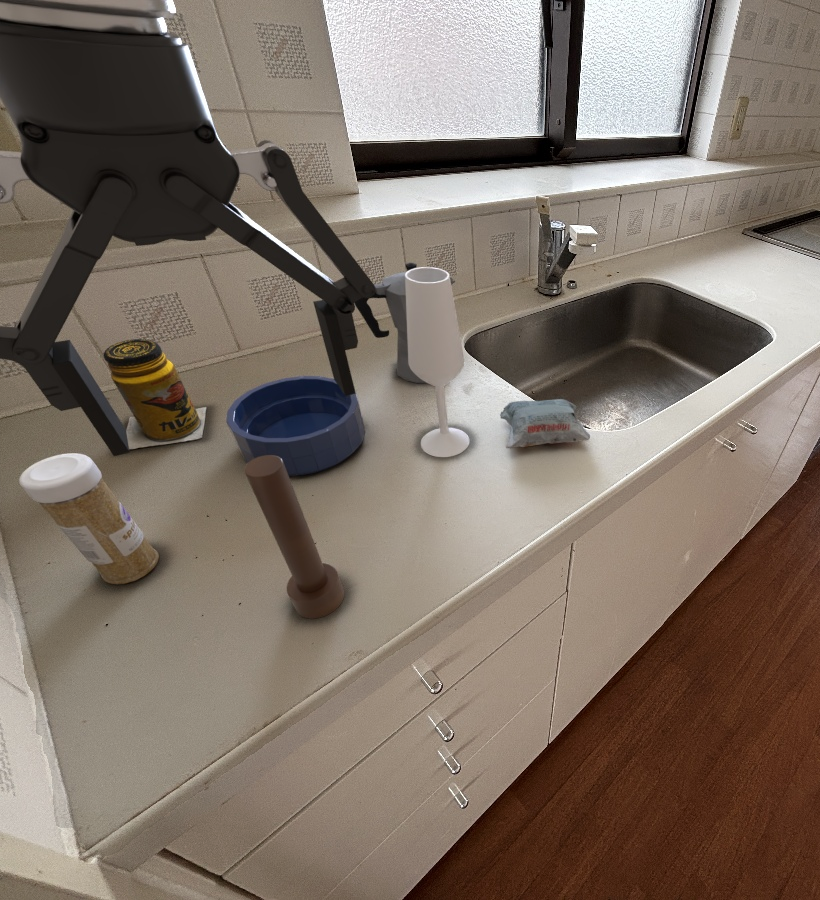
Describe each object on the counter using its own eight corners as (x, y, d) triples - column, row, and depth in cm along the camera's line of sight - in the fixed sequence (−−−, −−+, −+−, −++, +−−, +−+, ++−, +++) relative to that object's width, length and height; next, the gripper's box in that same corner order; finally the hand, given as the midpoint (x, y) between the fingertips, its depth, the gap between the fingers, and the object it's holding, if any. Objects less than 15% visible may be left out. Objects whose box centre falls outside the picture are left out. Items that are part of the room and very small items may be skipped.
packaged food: (588, 451, 72) (591, 424, 69) (506, 458, 69) (505, 430, 66) (574, 417, 79) (577, 390, 76) (499, 422, 75) (498, 394, 72)
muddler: (289, 620, 48) (219, 486, 36) (302, 581, 51) (243, 447, 40) (338, 617, 48) (285, 484, 37) (348, 579, 52) (303, 447, 40)
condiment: (202, 439, 65) (161, 358, 58) (119, 452, 62) (65, 368, 54) (207, 408, 70) (170, 330, 62) (130, 419, 67) (82, 337, 59)
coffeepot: (448, 348, 90) (439, 247, 79) (473, 372, 85) (467, 268, 74) (361, 369, 82) (336, 259, 71) (382, 397, 77) (360, 284, 65)
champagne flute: (439, 422, 74) (420, 259, 58) (478, 436, 72) (470, 273, 57) (410, 447, 69) (381, 276, 53) (452, 463, 67) (435, 292, 52)
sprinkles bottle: (168, 565, 51) (100, 467, 42) (113, 594, 48) (27, 495, 39) (148, 542, 52) (78, 444, 44) (94, 569, 49) (7, 469, 41)
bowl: (223, 480, 60) (204, 442, 56) (266, 410, 71) (253, 374, 67) (352, 478, 63) (342, 441, 59) (375, 411, 74) (367, 376, 70)
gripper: (-560, -39, 13) (-13, 515, 26) (393, 54, 26) (434, 390, 40) (-410, -39, 17) (-4, 439, 31) (346, 41, 30) (397, 349, 44)
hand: (244, 412), depth 35 cm, fingers open, 13 cm apart
